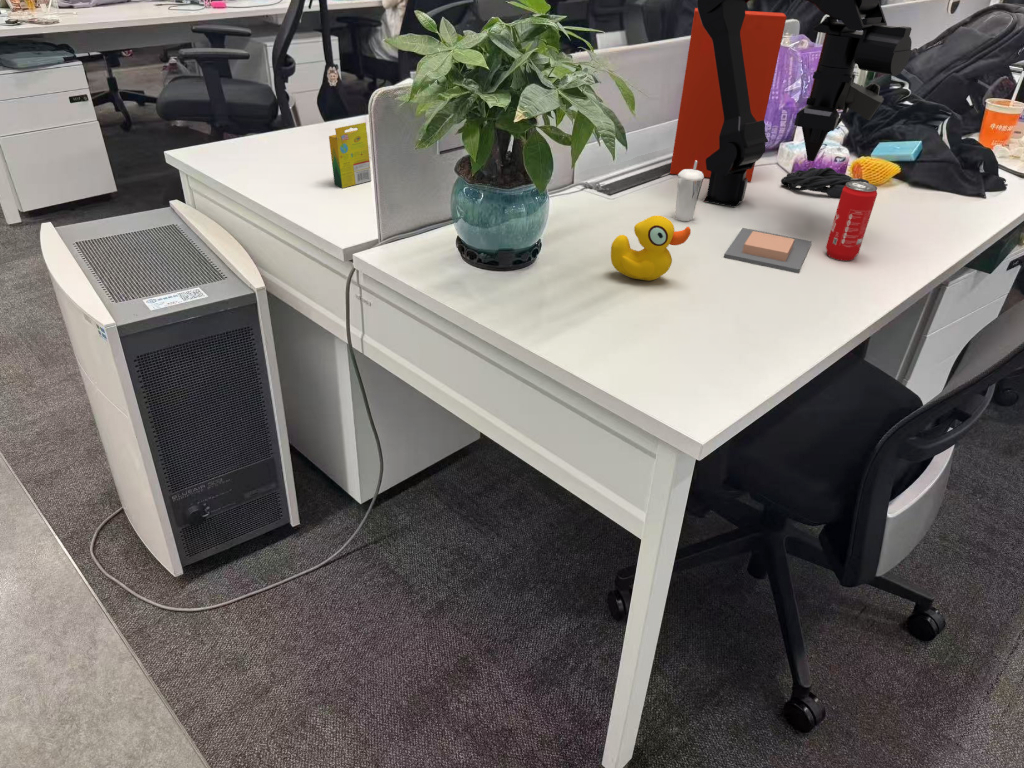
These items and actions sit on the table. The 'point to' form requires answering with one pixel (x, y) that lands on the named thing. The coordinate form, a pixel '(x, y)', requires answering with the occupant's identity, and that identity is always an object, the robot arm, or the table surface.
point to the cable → (819, 181)
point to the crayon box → (350, 156)
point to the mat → (791, 263)
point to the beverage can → (851, 220)
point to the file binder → (703, 92)
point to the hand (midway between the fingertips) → (810, 160)
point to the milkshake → (688, 193)
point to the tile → (768, 246)
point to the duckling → (647, 249)
